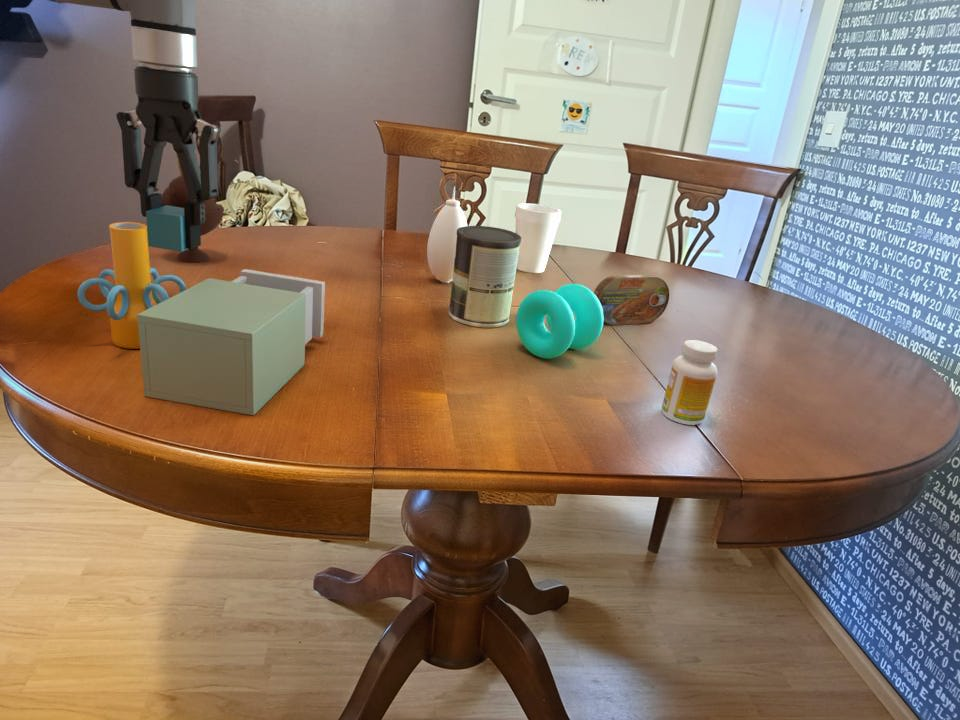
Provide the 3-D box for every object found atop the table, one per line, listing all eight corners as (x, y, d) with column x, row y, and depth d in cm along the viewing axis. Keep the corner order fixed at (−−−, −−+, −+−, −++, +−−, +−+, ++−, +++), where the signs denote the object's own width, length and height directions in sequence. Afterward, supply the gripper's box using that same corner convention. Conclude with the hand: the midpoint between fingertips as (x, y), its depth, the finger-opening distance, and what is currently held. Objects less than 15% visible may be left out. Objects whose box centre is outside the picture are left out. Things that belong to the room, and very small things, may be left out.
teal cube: (148, 246, 93) (145, 210, 91) (168, 239, 98) (166, 205, 96) (181, 252, 93) (180, 216, 91) (200, 244, 97) (199, 210, 95)
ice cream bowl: (236, 262, 121) (234, 179, 116) (175, 269, 114) (169, 180, 108) (209, 248, 128) (205, 168, 122) (149, 253, 120) (142, 169, 114)
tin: (595, 326, 113) (604, 278, 109) (585, 319, 115) (594, 273, 112) (664, 323, 119) (675, 277, 116) (653, 316, 122) (664, 272, 118)
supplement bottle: (712, 421, 84) (732, 351, 80) (685, 429, 81) (705, 357, 77) (678, 402, 88) (696, 335, 84) (652, 410, 85) (669, 340, 81)
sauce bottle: (468, 279, 129) (479, 185, 122) (460, 290, 122) (471, 191, 115) (430, 272, 130) (438, 179, 123) (419, 283, 123) (428, 185, 116)
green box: (211, 348, 86) (208, 277, 82) (304, 364, 85) (306, 293, 81) (144, 396, 73) (136, 314, 69) (253, 415, 72) (252, 333, 68)
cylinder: (87, 362, 78) (71, 238, 73) (80, 330, 86) (66, 216, 80) (197, 351, 85) (190, 236, 79) (181, 322, 93) (175, 216, 87)
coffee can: (435, 315, 108) (444, 230, 102) (468, 302, 116) (477, 222, 111) (490, 333, 104) (502, 244, 98) (520, 317, 112) (532, 235, 106)
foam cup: (514, 273, 137) (523, 211, 132) (502, 261, 145) (510, 201, 140) (557, 276, 140) (567, 214, 134) (543, 263, 148) (552, 205, 143)
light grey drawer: (264, 308, 99) (264, 258, 96) (338, 320, 98) (340, 270, 95) (194, 357, 81) (191, 297, 78) (284, 373, 80) (284, 312, 77)
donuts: (600, 356, 100) (613, 293, 96) (559, 370, 93) (572, 303, 89) (549, 334, 106) (559, 274, 102) (507, 346, 99) (517, 282, 95)
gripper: (245, 78, 89) (246, 248, 98) (119, 59, 90) (131, 228, 99) (217, 77, 82) (221, 259, 91) (81, 56, 83) (98, 238, 92)
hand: (174, 243), depth 95 cm, fingers closed on teal cube, 5 cm apart
